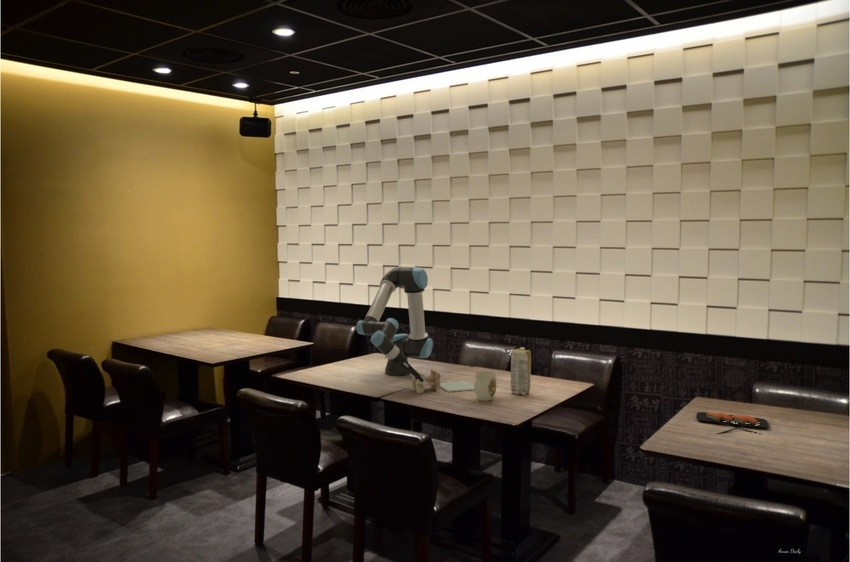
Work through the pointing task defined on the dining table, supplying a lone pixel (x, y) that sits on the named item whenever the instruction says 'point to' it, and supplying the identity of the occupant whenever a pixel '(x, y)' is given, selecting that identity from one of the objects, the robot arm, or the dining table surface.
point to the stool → (432, 381)
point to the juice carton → (520, 371)
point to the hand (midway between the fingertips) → (423, 382)
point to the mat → (457, 386)
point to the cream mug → (485, 385)
